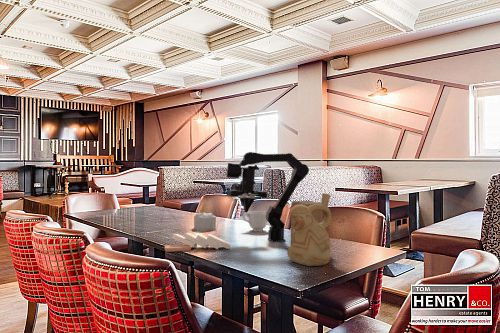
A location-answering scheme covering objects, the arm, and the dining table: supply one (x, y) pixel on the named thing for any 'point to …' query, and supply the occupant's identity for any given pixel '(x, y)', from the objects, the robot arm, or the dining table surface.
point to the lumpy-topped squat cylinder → (204, 221)
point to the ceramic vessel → (310, 234)
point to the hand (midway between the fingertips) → (245, 212)
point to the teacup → (256, 219)
